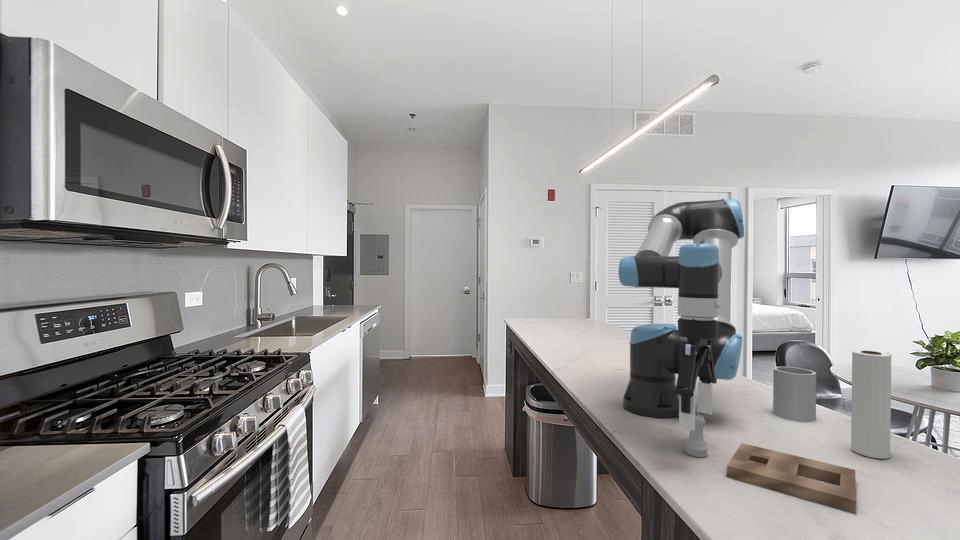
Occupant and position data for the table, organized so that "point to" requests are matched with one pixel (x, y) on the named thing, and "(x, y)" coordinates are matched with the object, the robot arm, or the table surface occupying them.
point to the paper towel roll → (871, 403)
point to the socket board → (795, 476)
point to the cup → (794, 394)
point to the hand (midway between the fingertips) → (696, 420)
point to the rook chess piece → (697, 439)
